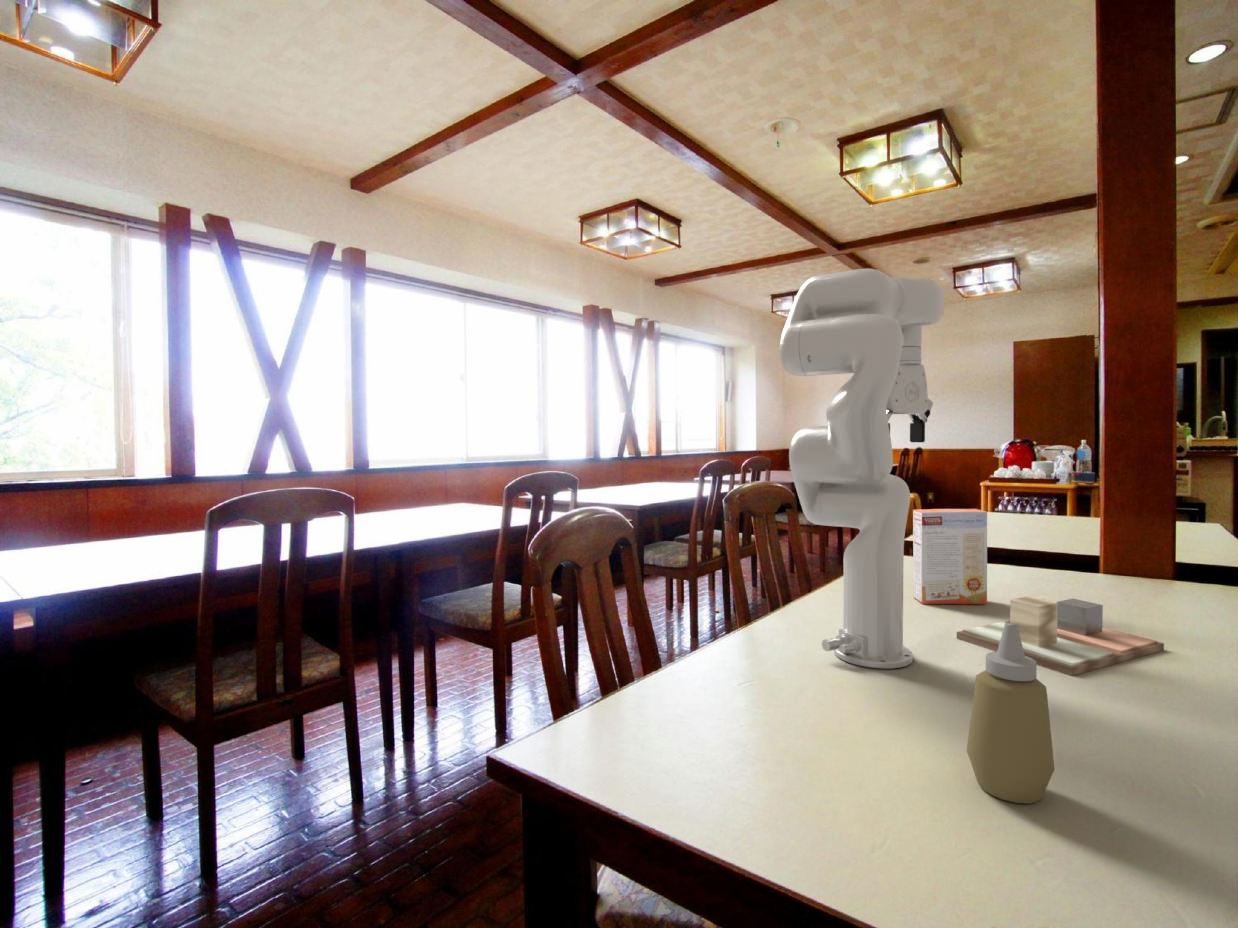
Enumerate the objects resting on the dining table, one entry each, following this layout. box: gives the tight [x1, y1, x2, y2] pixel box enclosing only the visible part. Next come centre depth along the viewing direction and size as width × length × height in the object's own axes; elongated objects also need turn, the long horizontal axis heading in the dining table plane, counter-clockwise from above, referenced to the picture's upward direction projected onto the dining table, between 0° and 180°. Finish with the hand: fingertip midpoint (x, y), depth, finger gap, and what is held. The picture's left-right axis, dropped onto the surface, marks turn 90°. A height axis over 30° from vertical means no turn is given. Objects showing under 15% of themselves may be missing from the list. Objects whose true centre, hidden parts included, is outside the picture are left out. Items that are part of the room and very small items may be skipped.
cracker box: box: [912, 508, 988, 605], centre depth 140 cm, size 14×6×21 cm, turn 84°
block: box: [1009, 595, 1058, 647], centre depth 109 cm, size 5×5×7 cm
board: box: [956, 619, 1165, 677], centre depth 112 cm, size 26×20×2 cm
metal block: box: [1056, 598, 1104, 636], centre depth 114 cm, size 5×5×5 cm
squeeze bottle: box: [966, 623, 1055, 805], centre depth 67 cm, size 8×8×18 cm
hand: (900, 442), depth 127 cm, fingers open, 9 cm apart
